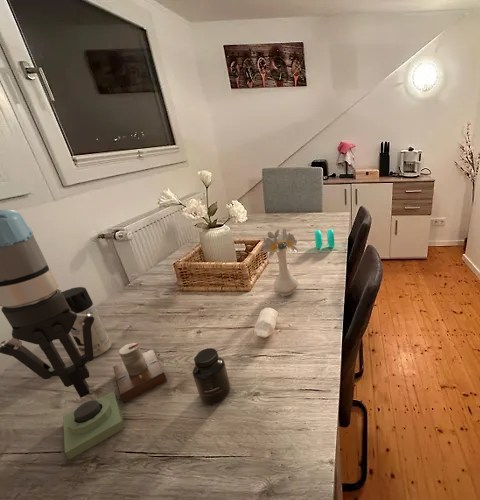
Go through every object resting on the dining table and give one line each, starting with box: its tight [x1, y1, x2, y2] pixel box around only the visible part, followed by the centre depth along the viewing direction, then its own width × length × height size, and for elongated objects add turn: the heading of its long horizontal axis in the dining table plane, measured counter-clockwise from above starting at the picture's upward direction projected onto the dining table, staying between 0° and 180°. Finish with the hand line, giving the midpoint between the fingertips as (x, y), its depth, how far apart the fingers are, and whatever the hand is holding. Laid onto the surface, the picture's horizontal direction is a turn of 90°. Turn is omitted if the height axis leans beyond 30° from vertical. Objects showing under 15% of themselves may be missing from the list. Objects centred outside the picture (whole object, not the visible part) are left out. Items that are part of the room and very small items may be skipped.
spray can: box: [61, 286, 112, 358], centre depth 79 cm, size 7×7×20 cm
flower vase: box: [260, 228, 299, 297], centre depth 106 cm, size 13×18×25 cm
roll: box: [253, 307, 279, 338], centre depth 87 cm, size 6×12×6 cm, turn 5°
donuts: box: [314, 228, 335, 249], centre depth 150 cm, size 10×10×10 cm
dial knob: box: [118, 342, 147, 375], centre depth 71 cm, size 4×4×7 cm
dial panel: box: [112, 348, 168, 404], centre depth 73 cm, size 12×9×3 cm
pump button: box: [74, 399, 101, 423], centre depth 60 cm, size 4×4×2 cm
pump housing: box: [62, 390, 126, 460], centre depth 61 cm, size 11×9×4 cm
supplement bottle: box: [192, 347, 231, 405], centre depth 66 cm, size 7×7×12 cm
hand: (84, 391), depth 59 cm, fingers closed
